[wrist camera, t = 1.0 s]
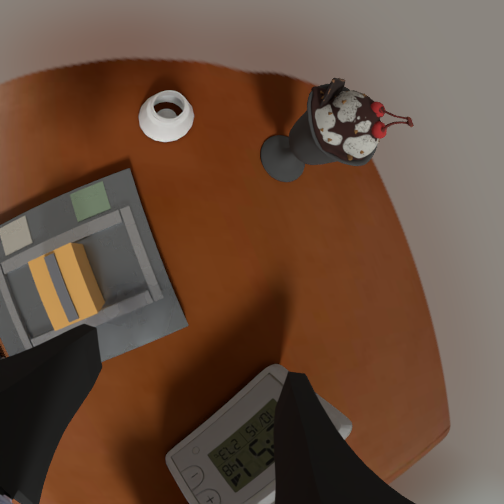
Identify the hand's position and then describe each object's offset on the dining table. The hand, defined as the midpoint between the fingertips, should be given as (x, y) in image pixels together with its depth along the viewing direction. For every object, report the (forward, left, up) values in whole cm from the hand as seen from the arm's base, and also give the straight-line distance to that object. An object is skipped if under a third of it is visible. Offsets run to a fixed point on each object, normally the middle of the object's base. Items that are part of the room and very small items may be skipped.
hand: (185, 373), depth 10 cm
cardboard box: (-6, +4, -14) cm, 16 cm away
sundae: (+16, +8, -16) cm, 24 cm away
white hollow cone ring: (+6, +15, -16) cm, 23 cm away
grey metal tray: (-7, +4, -16) cm, 18 cm away
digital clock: (+1, -15, -16) cm, 22 cm away
